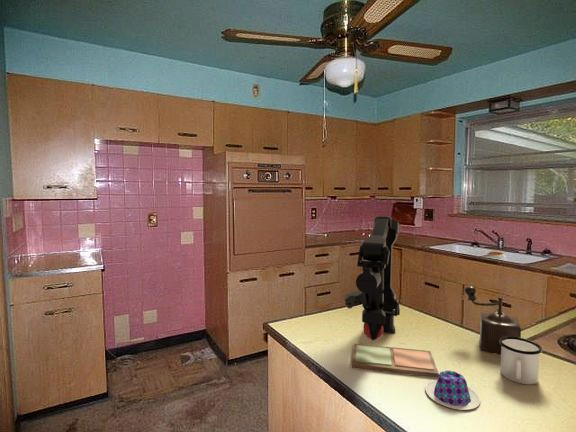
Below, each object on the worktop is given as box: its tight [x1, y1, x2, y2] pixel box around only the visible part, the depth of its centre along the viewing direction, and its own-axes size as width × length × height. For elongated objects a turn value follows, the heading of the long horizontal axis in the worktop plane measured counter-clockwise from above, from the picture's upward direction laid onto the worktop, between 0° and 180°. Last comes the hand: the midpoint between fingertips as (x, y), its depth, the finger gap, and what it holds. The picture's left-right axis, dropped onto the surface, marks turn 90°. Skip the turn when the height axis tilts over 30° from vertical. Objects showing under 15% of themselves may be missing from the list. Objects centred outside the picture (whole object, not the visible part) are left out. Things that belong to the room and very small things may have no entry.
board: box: [351, 343, 440, 379], centre depth 97 cm, size 13×23×2 cm, turn 76°
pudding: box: [425, 370, 481, 411], centre depth 81 cm, size 12×12×5 cm
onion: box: [362, 322, 384, 342], centre depth 98 cm, size 6×6×8 cm
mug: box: [499, 336, 543, 385], centre depth 87 cm, size 12×10×9 cm
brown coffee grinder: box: [463, 285, 522, 356], centre depth 106 cm, size 16×11×18 cm
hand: (373, 335), depth 98 cm, fingers closed on onion, 6 cm apart
